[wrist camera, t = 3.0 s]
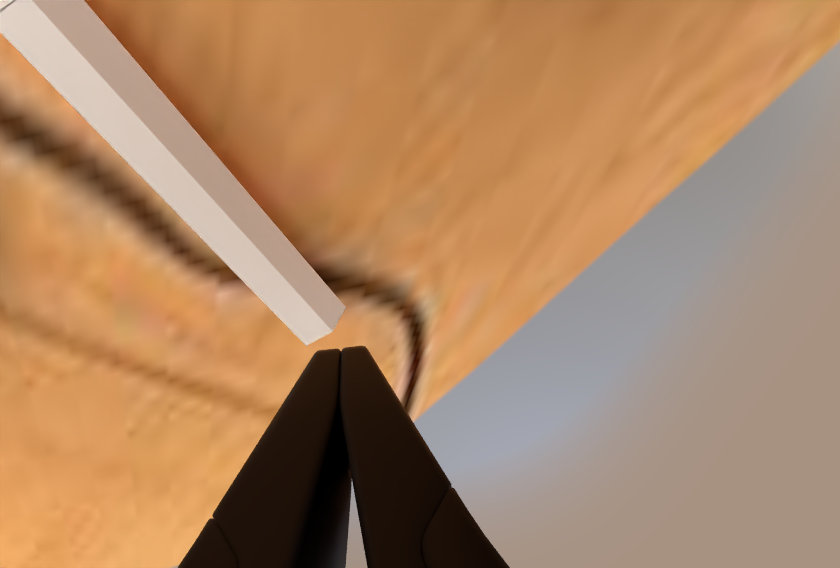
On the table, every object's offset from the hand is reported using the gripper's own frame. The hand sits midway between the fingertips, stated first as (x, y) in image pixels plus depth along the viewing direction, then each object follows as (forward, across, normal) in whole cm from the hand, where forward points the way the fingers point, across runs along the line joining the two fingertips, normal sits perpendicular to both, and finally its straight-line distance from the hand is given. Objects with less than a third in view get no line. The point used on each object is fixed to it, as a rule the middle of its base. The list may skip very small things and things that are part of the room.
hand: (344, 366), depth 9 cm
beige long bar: (+11, +5, 0) cm, 13 cm away
